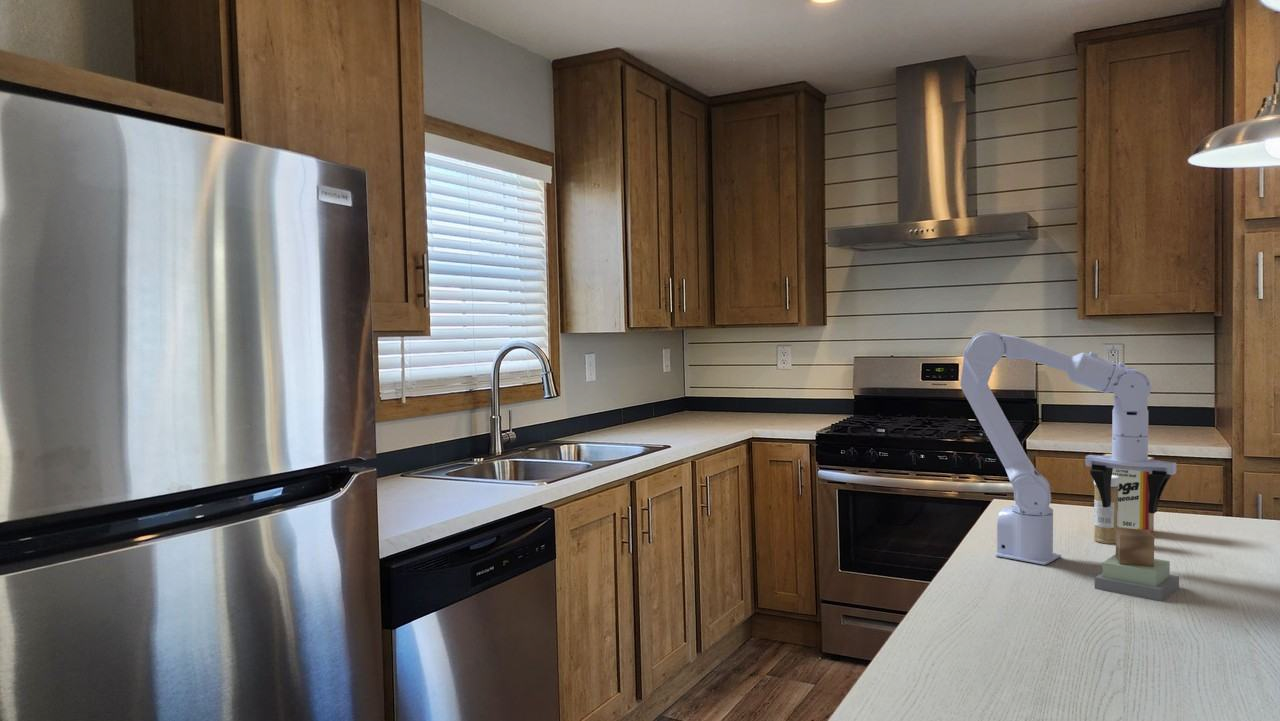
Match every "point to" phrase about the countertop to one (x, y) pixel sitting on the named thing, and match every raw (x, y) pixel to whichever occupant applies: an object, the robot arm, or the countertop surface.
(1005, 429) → the robot arm
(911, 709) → the countertop surface
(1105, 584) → the tower base
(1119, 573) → the tower top
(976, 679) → the countertop surface
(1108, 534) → the sprinkles bottle
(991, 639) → the countertop surface
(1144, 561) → the walnut block
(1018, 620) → the countertop surface
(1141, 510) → the baking soda box
